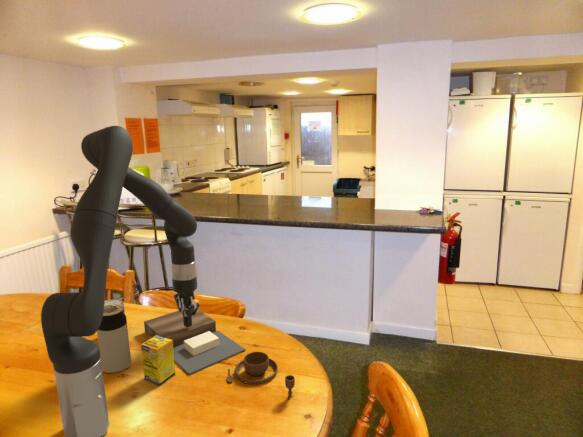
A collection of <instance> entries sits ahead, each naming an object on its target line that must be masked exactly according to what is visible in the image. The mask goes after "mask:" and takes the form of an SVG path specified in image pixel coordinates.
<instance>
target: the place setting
mask: <svg viewBox="0 0 583 437" xmlns="http://www.w3.org/2000/svg"><path fill="white" fill-rule="evenodd" d="M269 366H271V367H272V368H273V370H274V372H273V374H271V375H270V376H269V377H268V376H267V378H263V379H258V380H257V379H255V380H254V379H253V380H252V379H248V378H247V379H246V378H243V377H242V376H240V371H241V369H242V368H243V369H244V371H246V372H247V374H250V375H251V376H255V377H256V376H259V377H260V376H261V375H263V374H264V373H265V372H267V370H268V369H269ZM278 369H279V368H278V363H277V362H276V361H275V360H274V359H272V358H270V357H269V355H268V354H267V353H265V352H263V351H253V352H249V353H247V354H246V355H245V356H244V357H243V359H242V360H241V361H239V362H238V363H237V365H236V366H235V370H234V372H235V376H236V377H237V379H238V380H239V381H241V382H242V383H245V384H249V385H260V384H265V383H267V382H270V381H271V380H273V379H274V378H275V376H276V375H277V373H278ZM227 373H228V375H227V377H226V378H225V379H226V382H228V383H232V382H233V381H234V376H232V375H231V369H230V368H228V369H227ZM284 382H285V384H284V385H285V387H286V388H287V389H288V392H287V394H288V396H287V398H288V399H293V390H292V389H294V388H295V384H296V383H295V382H296V379H295V376H294V375H291V374H288V375H286V376H285V377H284Z"/></svg>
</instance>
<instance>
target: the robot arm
mask: <svg viewBox="0 0 583 437" xmlns="http://www.w3.org/2000/svg"><path fill="white" fill-rule="evenodd" d="M80 144H81V145H80V148H81V152H82V155H83V157H84V158H85V159H86V160H87V161H88V162H89V163H90V164H91V165H92V166H93V167H95V169H97V171H96V173H95V175H94V177H93V178H92V180H91V181H90V183H89V184H88V186H87V187H86V188H85V190H84V192H83V194H82V195H80V196H81V197H80V198H79V200H78V202H77V204H76V207H75V208H74V212H73V218H72V221H71V227H70V230H69V231H70V232H69V234H70V239H71V242H72V245H73V247H74V249H75V252H76V254H77V256H78V257H79V259H80V261H81V264H82V267H83V287H82V291H81V292H76V291H75V292H55V293H52V294H50V295H49V296H47V297H46V299H45V301H44V302H43V305H42V308H41V312H40V323H41V329H42V334H43V337H44V338H43V339H44V344H45V347H46V351H47V355H48V359H49V360H50V362H51V363H52V367H53V372H54V378H55V385H56V390H57V397H58V404H59V410H60V411H59V412H60V417H61V423H62V428H63V434H64V435H63V437H103V436H105V435H107V434H108V428H109V425H110V420H109V411H108V405H107V404H108V403H107V397H106V396H107V395H106V389H105V381H104V373H103V372H104V371H103V370H102V364H101V356H100V349H99V344H98V343H96V342H95V341H93V340H91V339H87V338H85V337H92V336H94V335H95V334H96V333H97V330H98V329H99V327H100V324H101V321H102V317H103V312H104V303H105V302H106V289H107V281H108V280H107V279H108V268H109V262H110V257H111V251H112V245H113V240H114V236H115V234H116V233H115V231H116V227H117V222H118V214H119V207H120V201H121V198H122V194H123V188H124V189H125V190H126V191H128V192H129V193H131V194H132V195H133V196H134V197H135V198H137V200H139V201H140V202H141V204H142V205H144V206H145V207H146V208H147V209H148V210H149V211H150V212H151V213H152V214H153V215H154V216H155V217H157V218H159V219H161V220H163V221H164V223H163V228H164V229H163V230H164V233H165V237H166V240H167V244H168V246H169V249H170V260H171V268H170V269H171V270H170V271H171V283H172V291H173V292H175V294H173V298H174V301H175V303H176V306H177V308H178V310H179V311H180V312H182V315H183V322H184V326H185V327H190V326H192V316H193V315H195V314H196V312H197V310H199V308H200V304H199V302H197V303H196V301H195V298H196V297H195V291H196V290H197V289H198V275H197V266H196V258H195V248H194V244H193V243H192V242H191V241H189V239H188V238H187V237H191V236H193V235H194V234H195V233H196V231H197V229H198V223H197V220H196V218H195V216H194V215H193V214H192V213H191V212H190V211H189V210H187V209H186V208H185V207H184V206H182V205H181V204H180V203H178V202H177V201H175V200H174V199H173V197H172V196H171V195H170V194H169V193H168V192H167V191H166V190H165V189H164V187H163V186H162V185H160V184H159V183H158V182H156V181H155V180H153V179H151V178H150V177H147V176H145V175H143V174H141V173H139V172H138V171H135V170H134V169H133V168H131V167H129V166H130V163H131V160H132V157H133V150H134V145H133V144H134V143H133V140H132V137H131V135H130V133H129V132H128V130H127V129H126V128H125V127H122V126H120V125H111V126H106V127H104V128H101V129H99V130H98V129H97V130H95V131H93V132H91V133H89V134H86V135H85V136H84V137H83V139H82V140H81V143H80Z"/></svg>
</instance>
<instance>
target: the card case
mask: <svg viewBox="0 0 583 437" xmlns="http://www.w3.org/2000/svg"><path fill="white" fill-rule="evenodd" d="M219 345H220V344H219V338H218V337H217V336H216V335H214V334H213V333H211V332H210V331H208V332H206V333H203V334H200V335H198V336H195V337H192V338H190V339H187V340H184V348H185V349H186V350H187V351H188V352H190V353H191V354H192V355H193V356H195V355H197V354H199V353H202V352H204V351H207V350H209V349H212V348H214V347H216V346H219Z"/></svg>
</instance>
